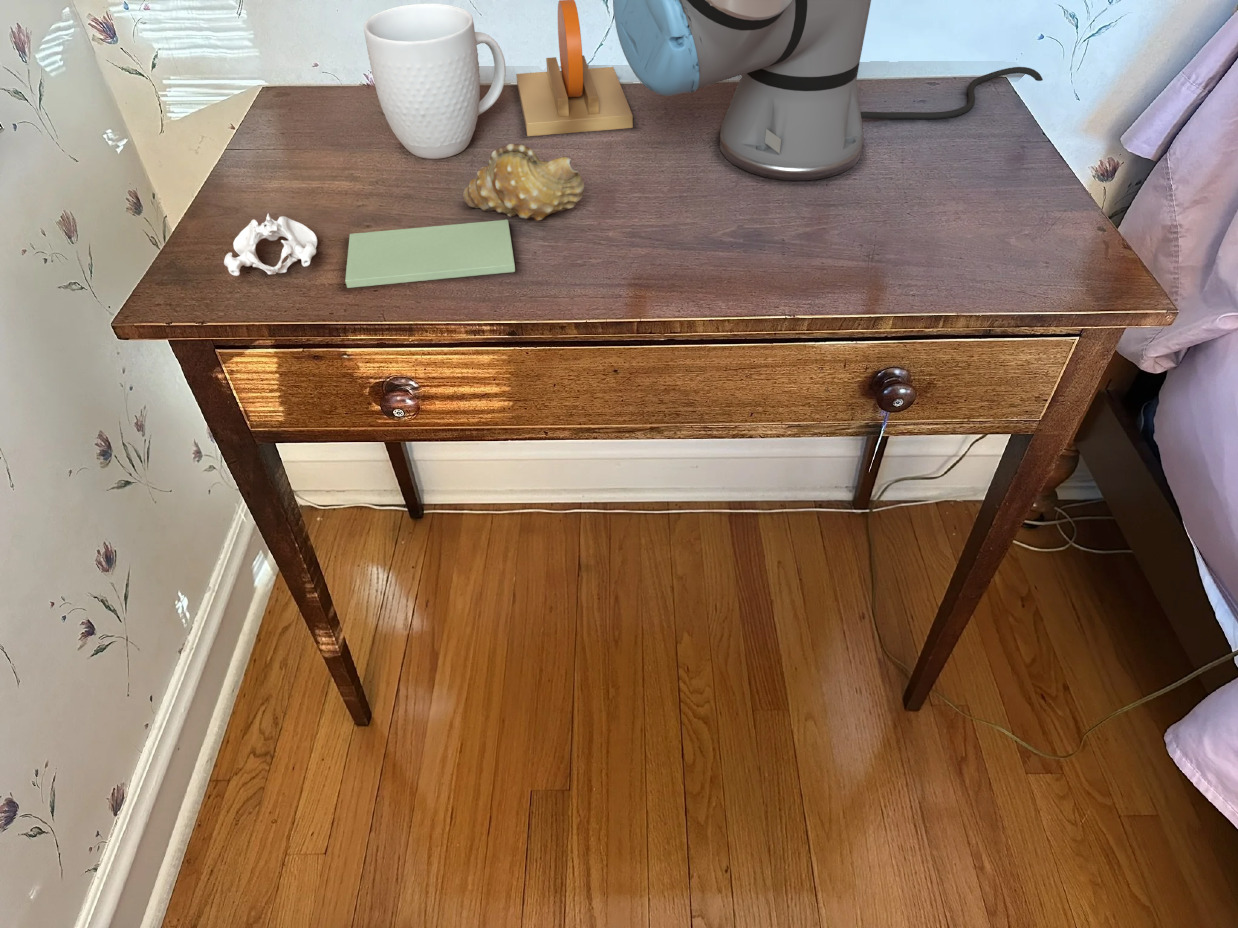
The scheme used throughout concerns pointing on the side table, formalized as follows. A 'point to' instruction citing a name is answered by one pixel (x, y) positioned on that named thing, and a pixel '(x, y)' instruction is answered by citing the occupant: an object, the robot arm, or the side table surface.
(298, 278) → the side table surface
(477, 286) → the side table surface
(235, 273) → the anatomical pelvis
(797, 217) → the side table surface
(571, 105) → the rack
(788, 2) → the robot arm
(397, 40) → the mug
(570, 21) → the disc
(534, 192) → the seashell
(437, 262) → the mat
